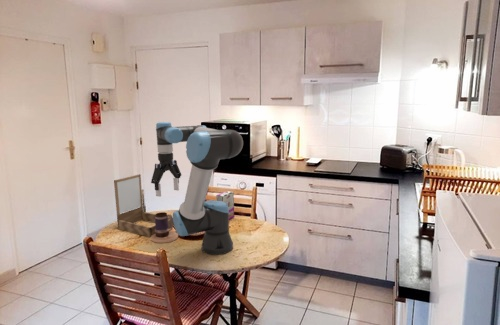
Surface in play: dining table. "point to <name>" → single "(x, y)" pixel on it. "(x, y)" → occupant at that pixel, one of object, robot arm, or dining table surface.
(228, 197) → the candy bar box
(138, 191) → the lid
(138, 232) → the cold frame
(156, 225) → the mug
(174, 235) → the saucer
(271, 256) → the dining table surface
